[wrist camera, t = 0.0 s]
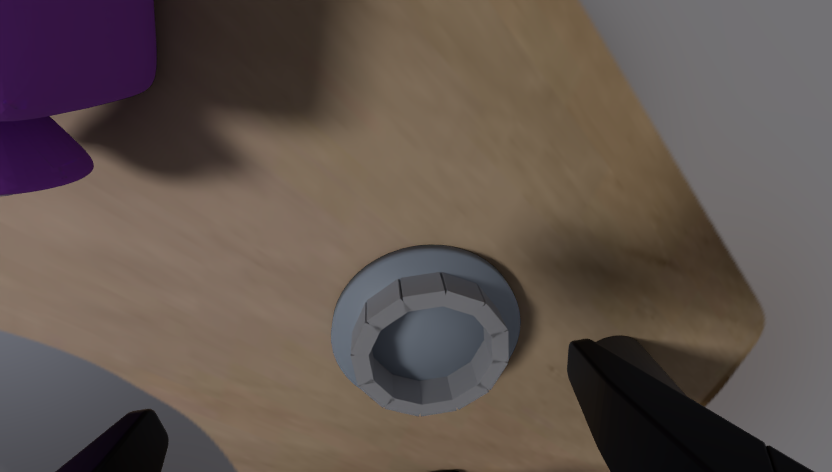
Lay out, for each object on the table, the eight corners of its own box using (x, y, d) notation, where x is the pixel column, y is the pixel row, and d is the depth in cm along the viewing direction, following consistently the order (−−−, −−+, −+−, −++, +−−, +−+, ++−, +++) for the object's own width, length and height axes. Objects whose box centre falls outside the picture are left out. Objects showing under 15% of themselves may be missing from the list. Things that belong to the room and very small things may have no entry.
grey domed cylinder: (639, 385, 31) (783, 567, 20) (571, 396, 31) (679, 586, 20) (649, 329, 29) (817, 501, 18) (575, 341, 28) (700, 523, 18)
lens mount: (515, 379, 29) (530, 413, 27) (351, 406, 29) (349, 443, 26) (514, 231, 24) (533, 254, 22) (313, 261, 24) (306, 288, 21)
